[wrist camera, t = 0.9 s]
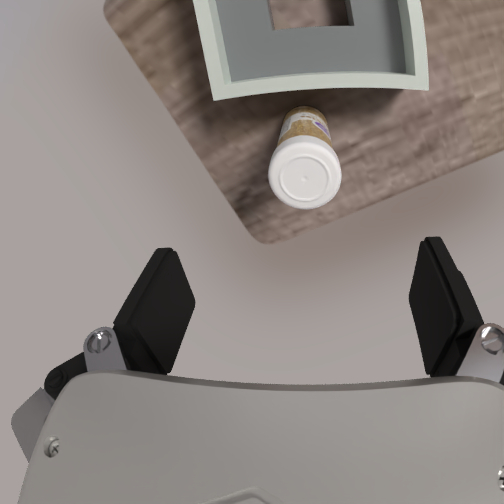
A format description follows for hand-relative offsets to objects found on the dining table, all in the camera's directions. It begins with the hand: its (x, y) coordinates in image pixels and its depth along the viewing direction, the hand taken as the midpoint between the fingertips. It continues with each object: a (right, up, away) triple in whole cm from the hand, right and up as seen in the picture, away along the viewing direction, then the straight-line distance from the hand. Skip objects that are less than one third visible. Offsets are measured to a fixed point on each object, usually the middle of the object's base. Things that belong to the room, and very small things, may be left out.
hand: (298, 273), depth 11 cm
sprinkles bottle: (+4, +13, +17) cm, 22 cm away
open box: (+3, +24, +9) cm, 26 cm away
